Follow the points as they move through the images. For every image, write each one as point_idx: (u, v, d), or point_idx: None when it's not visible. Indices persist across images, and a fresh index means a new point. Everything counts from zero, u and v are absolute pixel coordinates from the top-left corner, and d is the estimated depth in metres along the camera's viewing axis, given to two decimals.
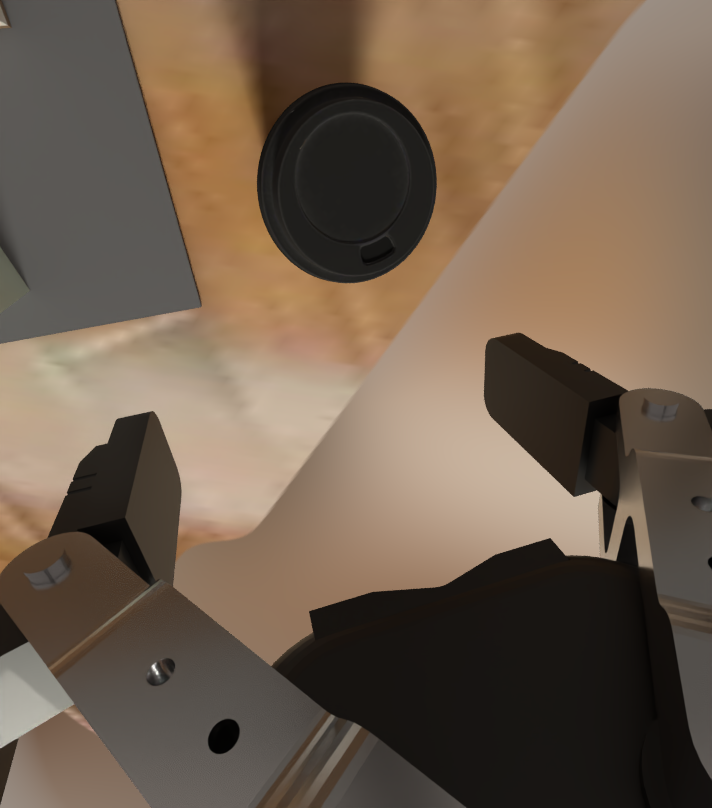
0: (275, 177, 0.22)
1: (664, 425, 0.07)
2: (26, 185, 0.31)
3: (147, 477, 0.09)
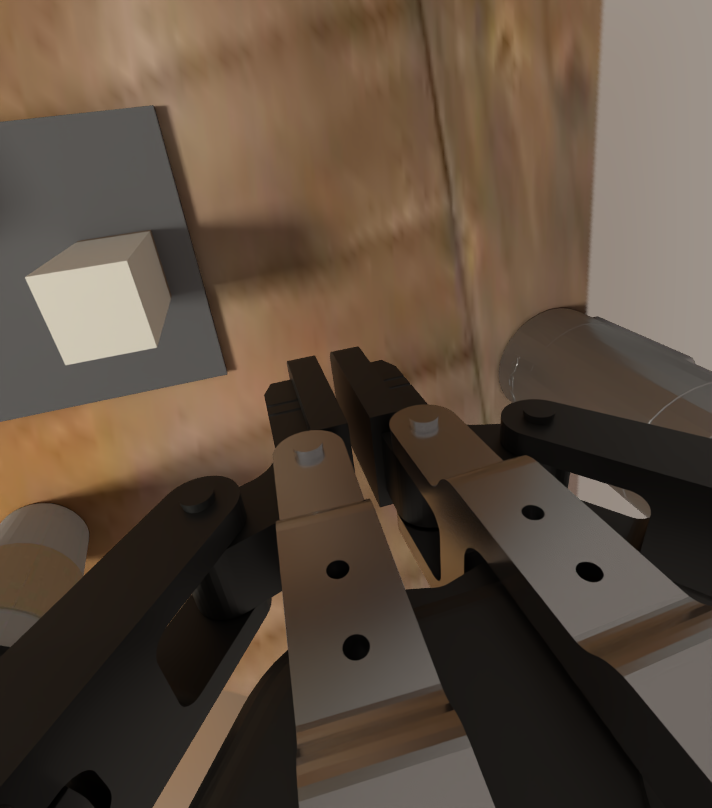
0: None
1: (412, 442, 0.08)
2: None
3: None
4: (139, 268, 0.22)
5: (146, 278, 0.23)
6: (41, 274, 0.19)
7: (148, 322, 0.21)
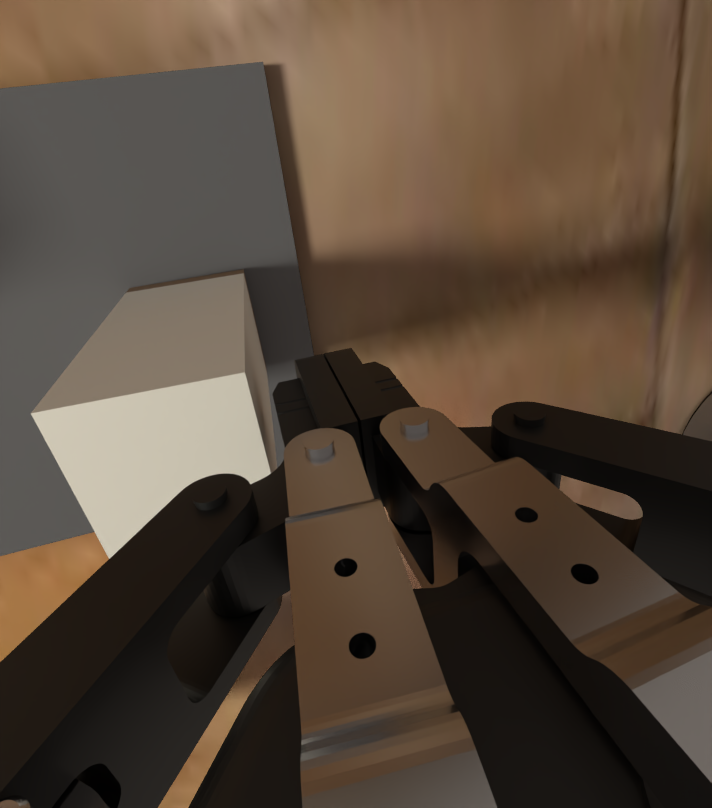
0: None
1: (402, 444, 0.08)
2: None
3: None
4: (252, 365, 0.11)
5: (256, 375, 0.13)
6: (66, 405, 0.09)
7: None
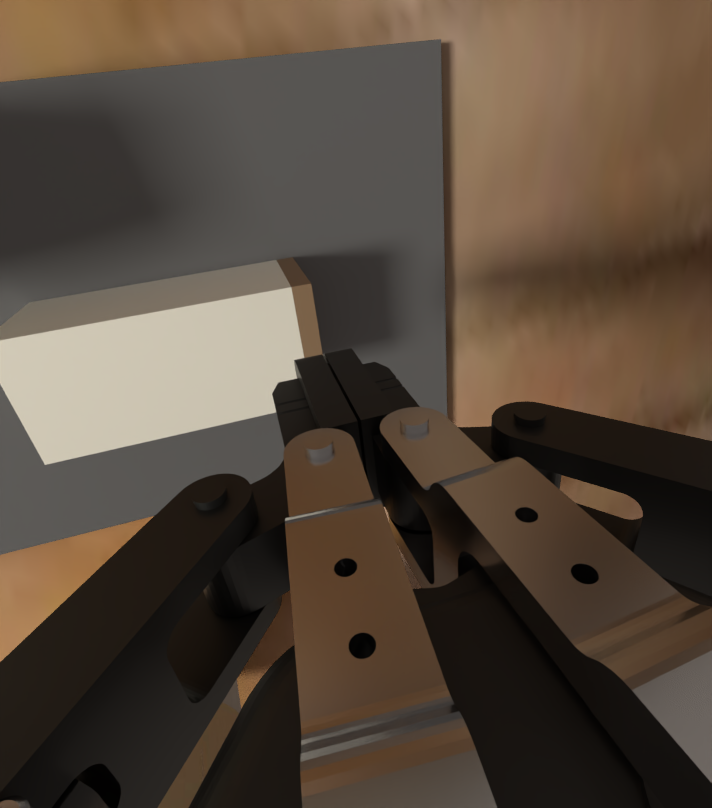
0: None
1: (403, 444, 0.08)
2: None
3: None
4: (71, 355, 0.13)
5: (114, 370, 0.14)
6: (24, 307, 0.15)
7: (31, 431, 0.14)
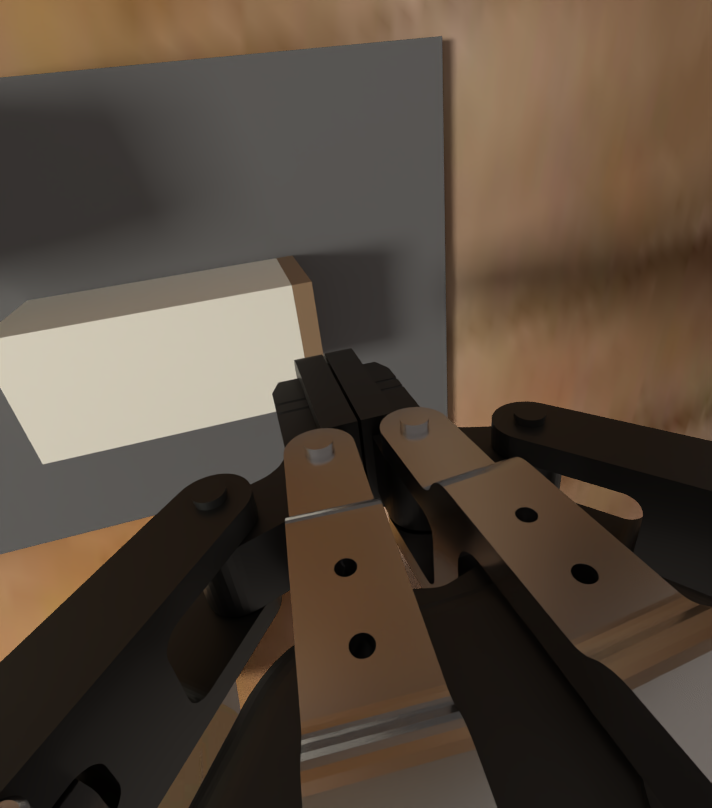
0: None
1: (403, 444, 0.08)
2: None
3: None
4: (70, 353, 0.13)
5: (113, 369, 0.13)
6: (22, 305, 0.15)
7: (28, 430, 0.14)
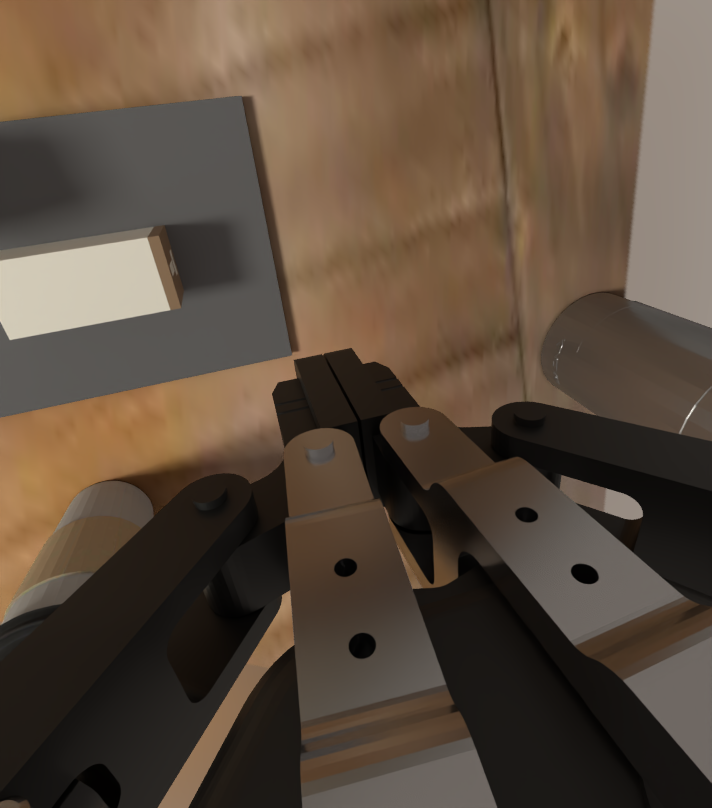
0: None
1: (403, 445, 0.08)
2: None
3: None
4: (22, 273, 0.24)
5: (47, 283, 0.25)
6: None
7: (1, 318, 0.25)
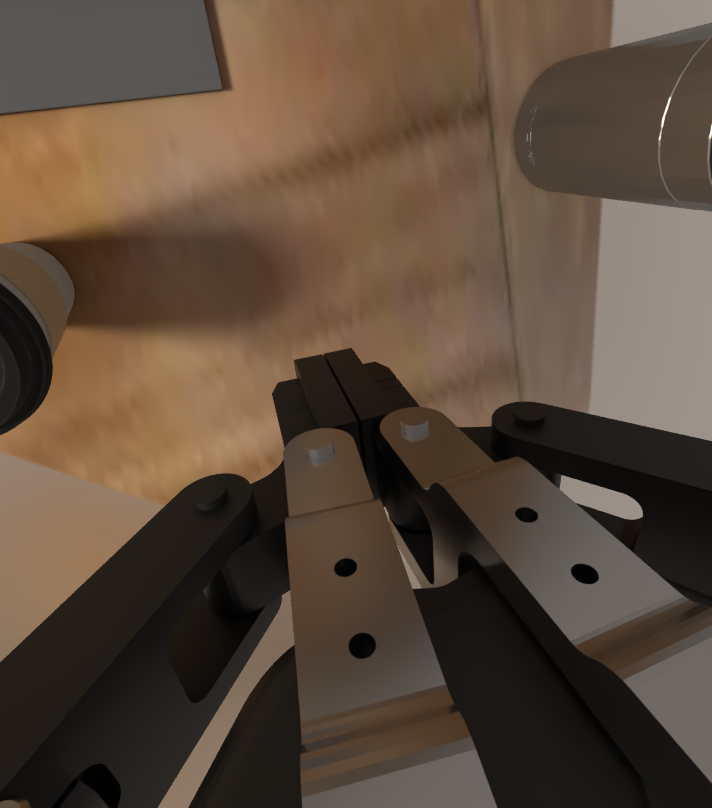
0: None
1: (402, 445, 0.08)
2: None
3: None
4: None
5: None
6: None
7: None
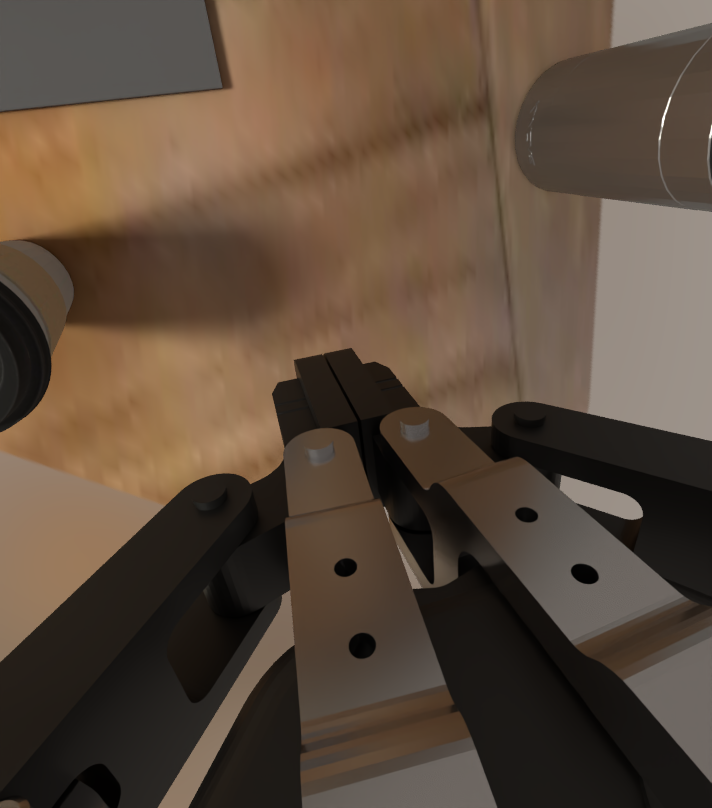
0: None
1: (403, 444, 0.08)
2: None
3: None
4: None
5: None
6: None
7: None
